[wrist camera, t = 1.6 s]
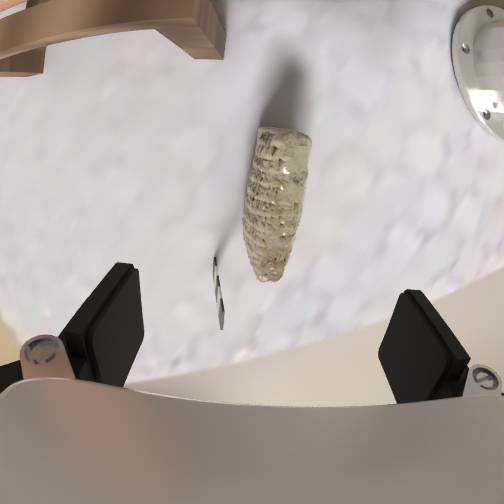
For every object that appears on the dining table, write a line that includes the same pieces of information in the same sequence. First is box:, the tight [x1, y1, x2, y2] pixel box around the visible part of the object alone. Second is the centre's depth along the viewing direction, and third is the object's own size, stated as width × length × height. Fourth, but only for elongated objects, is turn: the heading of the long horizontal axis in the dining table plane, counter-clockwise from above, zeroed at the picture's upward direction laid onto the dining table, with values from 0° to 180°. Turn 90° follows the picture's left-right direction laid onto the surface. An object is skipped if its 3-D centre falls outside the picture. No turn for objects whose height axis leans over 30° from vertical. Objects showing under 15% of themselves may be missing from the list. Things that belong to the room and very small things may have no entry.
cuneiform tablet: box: [213, 126, 312, 330], centre depth 21 cm, size 7×4×12 cm
